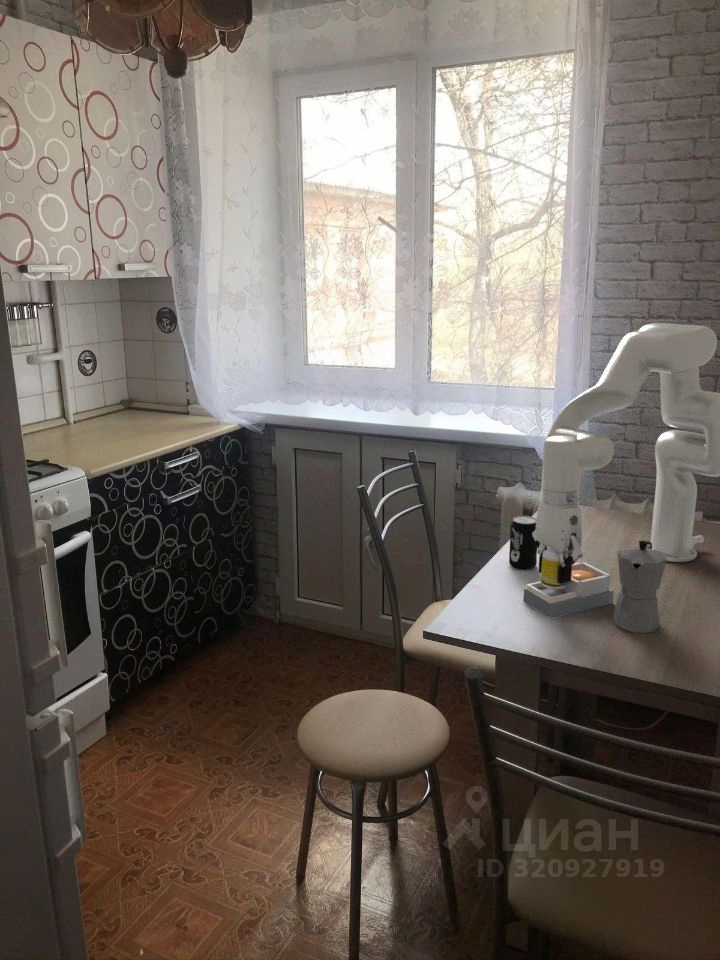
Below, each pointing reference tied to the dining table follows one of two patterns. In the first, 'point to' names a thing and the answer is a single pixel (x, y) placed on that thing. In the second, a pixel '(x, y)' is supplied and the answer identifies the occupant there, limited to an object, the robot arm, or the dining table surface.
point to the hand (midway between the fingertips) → (554, 576)
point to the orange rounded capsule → (581, 575)
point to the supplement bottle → (551, 569)
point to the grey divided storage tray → (571, 594)
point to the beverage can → (523, 543)
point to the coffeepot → (639, 588)
